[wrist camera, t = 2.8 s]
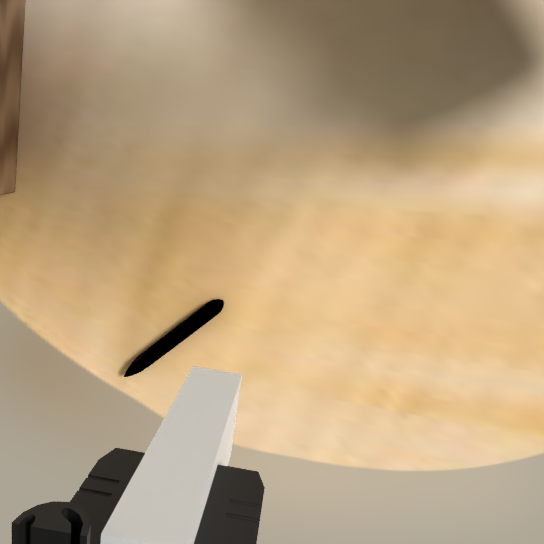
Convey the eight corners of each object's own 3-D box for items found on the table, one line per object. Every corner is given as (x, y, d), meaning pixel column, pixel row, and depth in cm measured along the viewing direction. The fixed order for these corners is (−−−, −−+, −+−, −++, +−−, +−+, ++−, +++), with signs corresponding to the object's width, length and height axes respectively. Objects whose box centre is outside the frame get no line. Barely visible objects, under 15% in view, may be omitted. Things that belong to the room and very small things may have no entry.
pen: (123, 366, 54) (117, 373, 52) (219, 293, 51) (216, 297, 49) (132, 376, 54) (127, 383, 53) (228, 304, 51) (226, 309, 50)
